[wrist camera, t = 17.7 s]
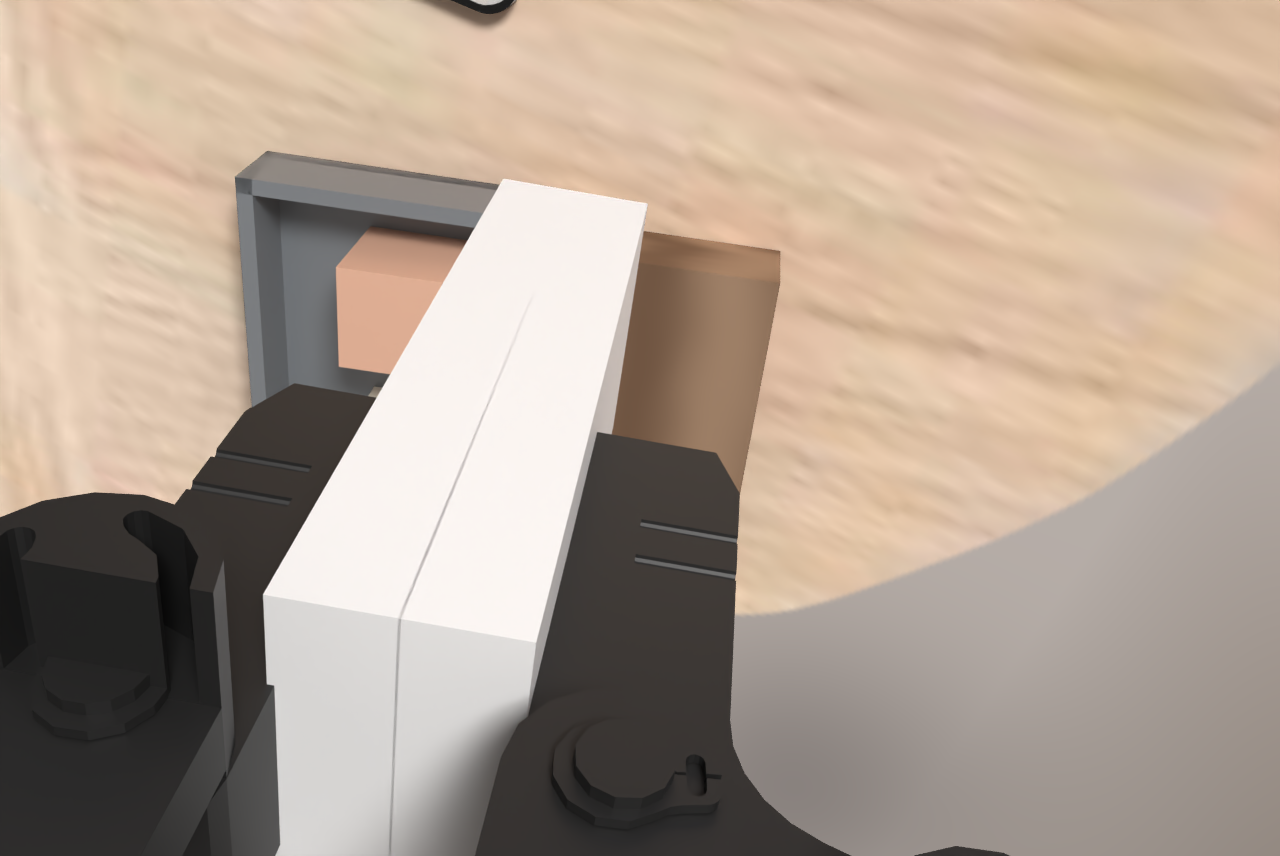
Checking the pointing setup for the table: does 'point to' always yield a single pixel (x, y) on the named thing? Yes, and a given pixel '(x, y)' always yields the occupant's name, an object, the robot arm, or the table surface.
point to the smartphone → (486, 5)
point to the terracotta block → (388, 293)
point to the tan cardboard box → (697, 345)
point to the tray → (325, 255)
